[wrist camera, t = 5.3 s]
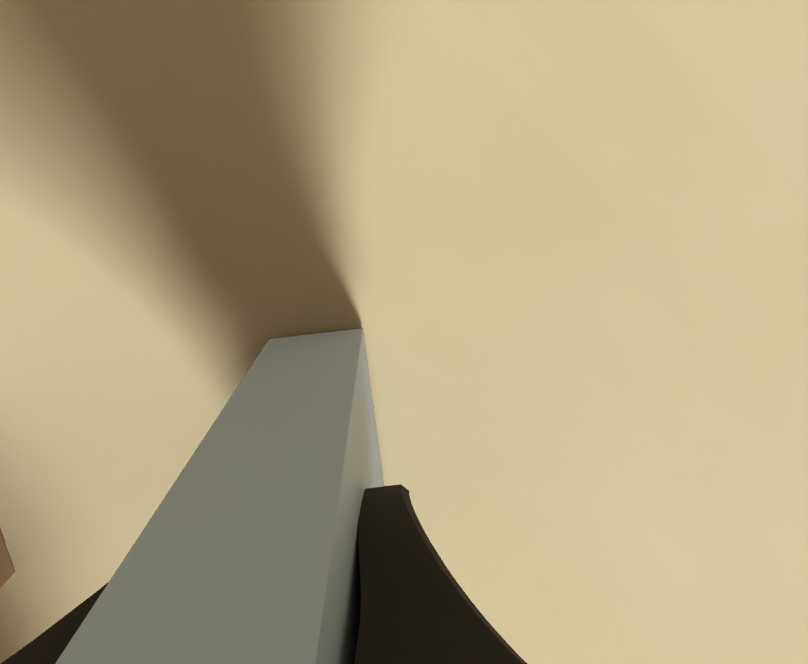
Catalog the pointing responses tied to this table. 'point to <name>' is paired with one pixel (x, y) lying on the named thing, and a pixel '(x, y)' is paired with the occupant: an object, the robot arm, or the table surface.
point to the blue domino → (255, 525)
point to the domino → (4, 562)
